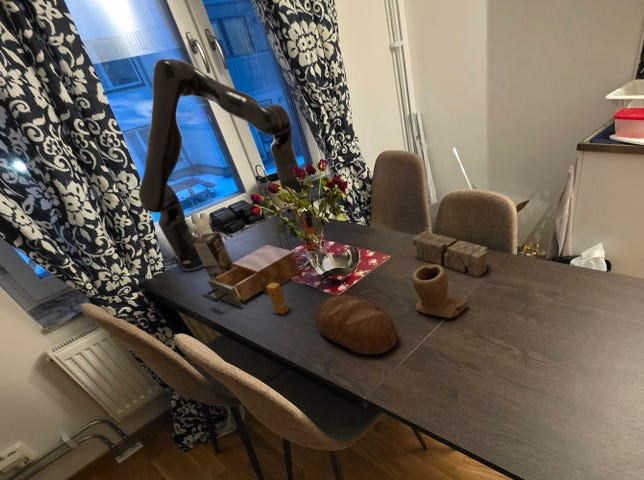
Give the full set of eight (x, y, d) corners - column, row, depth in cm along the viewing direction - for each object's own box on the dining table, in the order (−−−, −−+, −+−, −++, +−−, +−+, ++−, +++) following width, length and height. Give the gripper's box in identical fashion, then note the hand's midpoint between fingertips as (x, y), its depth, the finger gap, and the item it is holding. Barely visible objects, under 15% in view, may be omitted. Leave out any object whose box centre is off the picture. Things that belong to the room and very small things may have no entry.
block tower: (489, 270, 138) (426, 249, 153) (491, 248, 133) (425, 228, 147) (477, 279, 134) (413, 257, 149) (478, 257, 128) (412, 236, 143)
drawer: (226, 314, 129) (217, 297, 124) (203, 304, 135) (193, 287, 131) (273, 285, 141) (266, 268, 136) (250, 277, 147) (243, 261, 143)
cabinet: (266, 293, 139) (258, 271, 133) (241, 284, 146) (232, 263, 140) (300, 272, 148) (293, 251, 143) (274, 265, 155) (267, 244, 150)
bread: (373, 367, 104) (365, 334, 96) (305, 331, 119) (294, 300, 112) (410, 337, 112) (406, 304, 105) (342, 307, 127) (334, 276, 120)
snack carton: (301, 239, 144) (290, 204, 136) (307, 236, 146) (297, 201, 137) (311, 242, 142) (301, 206, 133) (317, 238, 144) (307, 203, 135)
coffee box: (228, 282, 148) (209, 242, 137) (212, 283, 148) (192, 244, 138) (236, 270, 155) (219, 231, 144) (221, 271, 155) (203, 233, 145)
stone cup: (408, 316, 120) (402, 273, 110) (426, 297, 127) (423, 255, 117) (452, 328, 114) (450, 283, 104) (469, 307, 121) (468, 263, 111)
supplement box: (289, 309, 129) (280, 283, 123) (283, 315, 127) (272, 288, 121) (282, 307, 131) (272, 281, 124) (275, 313, 128) (264, 287, 122)
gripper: (313, 174, 128) (326, 224, 139) (284, 171, 135) (298, 219, 146) (296, 182, 123) (311, 233, 135) (267, 178, 130) (283, 226, 141)
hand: (304, 225), depth 140 cm, fingers closed on snack carton, 5 cm apart
